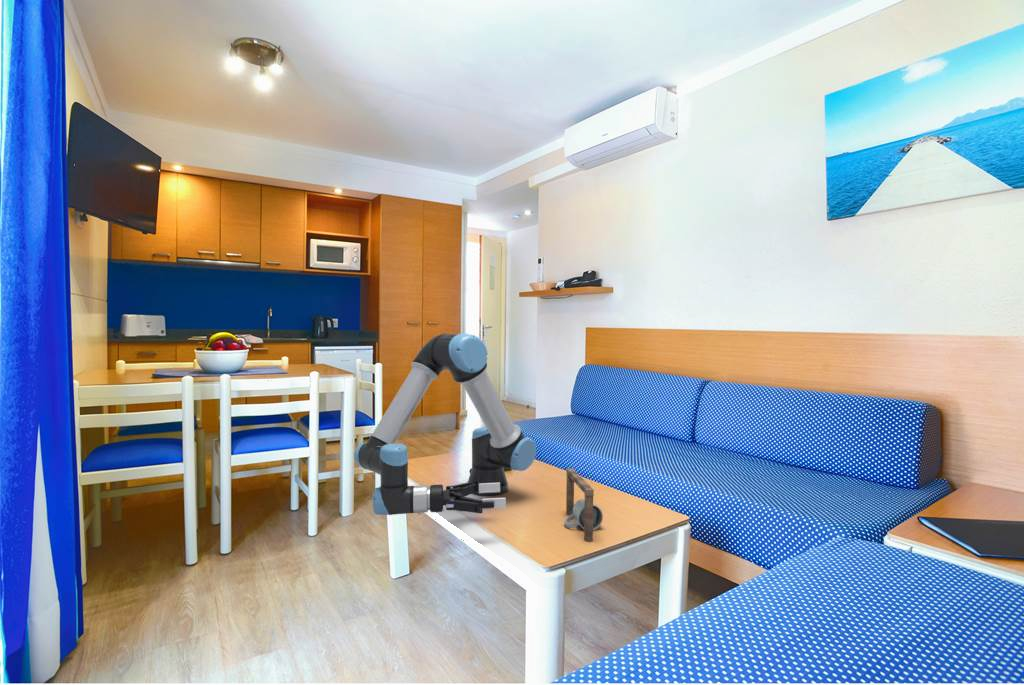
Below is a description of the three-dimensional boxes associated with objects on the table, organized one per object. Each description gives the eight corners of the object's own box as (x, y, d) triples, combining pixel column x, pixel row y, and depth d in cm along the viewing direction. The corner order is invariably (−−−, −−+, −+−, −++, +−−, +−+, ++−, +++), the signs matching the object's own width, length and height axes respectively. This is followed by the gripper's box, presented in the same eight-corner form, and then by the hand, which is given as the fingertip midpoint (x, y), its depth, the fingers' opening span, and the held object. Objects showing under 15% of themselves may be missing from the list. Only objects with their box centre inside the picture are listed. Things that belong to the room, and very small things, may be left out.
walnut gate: (565, 512, 157) (565, 468, 157) (572, 512, 158) (573, 468, 158) (585, 541, 135) (586, 490, 135) (593, 541, 136) (594, 489, 135)
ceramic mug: (593, 519, 152) (593, 495, 152) (603, 530, 144) (603, 504, 144) (560, 522, 150) (560, 497, 150) (568, 533, 142) (568, 506, 142)
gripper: (430, 496, 152) (498, 493, 155) (428, 529, 128) (508, 524, 131) (430, 473, 152) (497, 469, 155) (427, 500, 127) (508, 496, 130)
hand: (502, 494), depth 143 cm, fingers open, 13 cm apart
